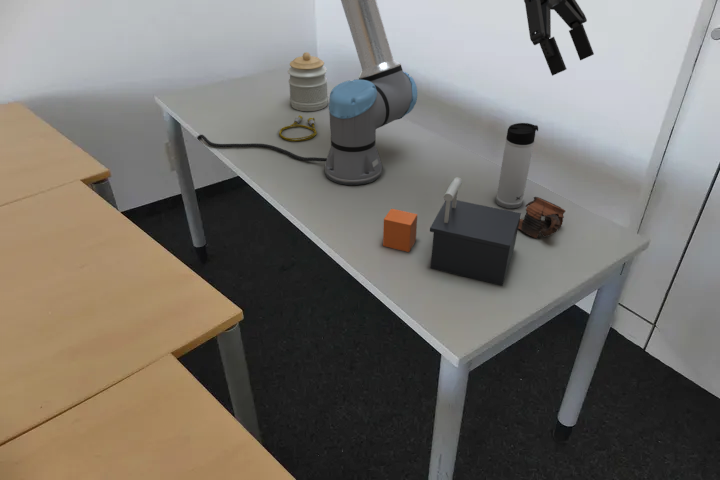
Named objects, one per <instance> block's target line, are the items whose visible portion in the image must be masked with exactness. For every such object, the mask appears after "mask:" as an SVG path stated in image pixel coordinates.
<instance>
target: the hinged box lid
mask: <svg viewBox="0 0 720 480" xmlns="http://www.w3.org/2000/svg"><path fill="white" fill-rule="evenodd" d="M462 182H463V180H462V178H460V177H454V178H453V179H452V181H451V183H450V184H449V185H448V188H447V189H446V192H445V194H443V199H444V202H443V204H442V205H441V208H440V209H439V211H438V212H437V215H436V217H435V218H434V220H433V221H432V224H431V225H430V227H429V232H430V233H434V232H435V233H439V234H444V235H448V236H452V237H457V238H461V239H466V240H470V241H475V242H479V243H484V244H488V245H492V246H497V247H501V248H506V249H510V247H511V244H512V241H513V238H514V235H515V231H516V228H517V225H518V222H519V219H521V217H522V212H518V211H513V210H509V209H502V208H498V207H493V206H487V205H483V204H478V203H472V202H468V201H463V200H458V194H459V189H460V187H461V185H462Z"/></svg>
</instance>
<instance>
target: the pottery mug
mask: <svg viewBox="0 0 720 480" xmlns="http://www.w3.org/2000/svg"><path fill="white" fill-rule="evenodd" d="M524 206H525V211H526V212H525V214H524V217H523V218H520V221H519V226H518V230H520V231H521V232H523V233H524V234H526V235H528V236H529V237H532V238H534V239H538V236H539V235H540V234H541V235H542V236H543V237H550V236H551V235H554V234H556V233H557V232H558V231H559V229H560V228H561V227H562V226H563V222H564V218H565V216H564V214H565V213H566V210H565V209H564V208H562V207H561V206H559V205H557V204H555V203H552V202H550V201H547V200H546V199H544V198H542V197H538V196H534V197H533V200H531V201H530V202H527V203H526V204H525V205H524ZM543 217H544V219H542V218H543Z"/></svg>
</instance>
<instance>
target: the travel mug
mask: <svg viewBox="0 0 720 480" xmlns="http://www.w3.org/2000/svg"><path fill="white" fill-rule="evenodd" d="M536 132H539V126H538V125H537V124H532V123H528V122H519V123H518V122H517V123H513V124H511V125H509V126H508V128H507V131H506V137H505V142H504V149H503V155H502V161H501V167H500V174H499V179H498V185H497V191H496V197H495V202H496V204H497V205H498V206H500V207H502V208H504V209H509V210H511V209H518V208H520V207H521V206H522V205H523V201H524V195H525V191H526V186H527V180H528V177H529V170H530V165H531V159H532V154H533V151H534V145H535V137H536Z"/></svg>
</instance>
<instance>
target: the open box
mask: <svg viewBox="0 0 720 480" xmlns="http://www.w3.org/2000/svg"><path fill="white" fill-rule="evenodd" d="M520 219H521V218H520ZM520 219H519V221H520ZM518 226H519V222H518V225H517V228H516V231H515V235H514V238H513V241H512V244H511V247H510V249H506V248H501V247H497V246H492V245H488V244H484V243H479V242H475V241H470V240H466V239H461V238H457V237H452V236H448V235H444V234H439V233H435V232H433V235H432V246H431V247H432V248H431V256H430V258H431V259H430V269H432V270H437V271H441V272H445V273H449V274H453V275H457V276H461V277H465V278H469V279H473V280H477V281H481V282H485V283H489V284H494V285H498V286H502V287H503V286H504V283H505V280H506V276H507V273H508V270H509V267H510V263H511V260H512V257H513V255H514V250H515V245H516V242H517V235H518V231H519V229H518Z"/></svg>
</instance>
